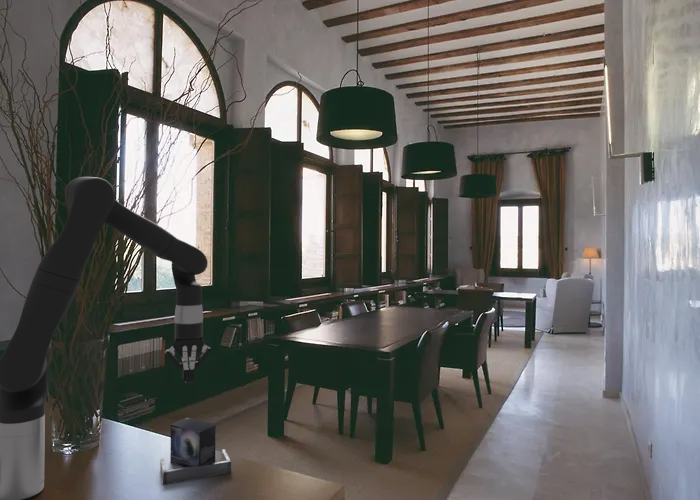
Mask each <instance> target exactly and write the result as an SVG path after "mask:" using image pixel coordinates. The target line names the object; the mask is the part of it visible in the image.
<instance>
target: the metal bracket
mask: <svg viewBox="0 0 700 500" xmlns="http://www.w3.org/2000/svg"><path fill="white" fill-rule="evenodd" d="M220 460H221V461H215V463H209V464H203V465H197V466H191V467H181V468H174V469H169V470H167V467H166V466H167V465H166V462H165V458H160V466H159V467H160V469H159V470H160V476H161V481H162V482H161V483H162V485H163V486H166V485H172V484H178V483H182V482H184V483H185V482H188V481H194V480H200V479H205V478H206V479H207V478H212V477H219V476H223V475H228V474H231V473H232V461H231V458H230V457H229V455H228V453H227V450H226V449H225V448H224V449H221V459H220Z"/></svg>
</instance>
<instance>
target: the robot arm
mask: <svg viewBox="0 0 700 500" xmlns="http://www.w3.org/2000/svg"><path fill="white" fill-rule="evenodd" d="M64 198H65V201H66V203H67V205H68V206H69V207H70V211H69V213H68V217H67V219H66V222H65V224H64V226H63V229H62V230H61V232H60V234H59V235H58V236H57V238H56V239H55V240H54V242H53V243H52V244H51V245H50V247H49V248H48V249H47V251H45V252H46V253H44V255H43V257H42V259H41V260H40V262H39V264H38V266H37V268H36V271H35V274H34V276H33V279H32V281H31V283H30V285H29V286H30V287H29V290H28V292H27V294H26V298H25V300H24V304H23V307H22V310H21V314H20V317H19V321H18V324H17V326H16V328H15V331H14V333H13V334H12V337H11V339H10V341H9V343H8V344H7V346H6V348H5V350H4V352H3V354H2V355H1V357H0V500H25V499H26V500H27V499H29V498H32V497H34V496H36V495H37V494H39V493H40V492H42V491H43V489H44V488H45V450H46V449H45V447H46V446H45V440H46V439H45V437H46V435H45V434H46V432H45V431H46V430H45V429H46V427H45V426H46V401H47V386H48V384H47V380H48V360H47V355H48V351H49V348H50V344H51V341H52V338H53V337H54V334H55V332H56V330H57V328H58V327H59V326H60V323H61V321H62V320H63V318H64V316H65V314H66V313H67V311H68V310H69V307H70V305H71V303H72V302H73V300H74V297H75V295H76V293H77V290H78V288H79V286H80V283H81V281H82V278H83V275H84V272H85V269H86V267H87V264H88V261H89V259H90V257H91V254H92V251H93V248H94V246H95V243H96V239H97V238H98V236H99V233H100V232H101V230H102V228H103V226H104V224H106V225H107V226H109V227H111V228H113V229H114V230H115V231H117V232H119V233H120V234H122V235H124V236H126V238H128V239H130V240H131V241H133V242H134V243H136V244H137V245H138V246H140V247H142V248H143V249H145V250H147V252H149V253H151V254H152V255H154V256H155V257H157V258H159V259H161V260H165V261H169V262H170V263H171V273H172V278H173V281H174V286H175V290H176V292H175V294H176V295H175V311H174V318H173V319H174V340H173V342H172V345H171V346H170V348H168V349H165V351H164V353H165V355H166V357H168V359H169V360H170V361H171V362H172V363H173V364H174V366H175V367H176V368H178V369H181V370H182V380H183V382H185V384H190V383H192V381H194V378H195V369H196V368H199V367H201V366H202V365H203V363H204V362H205V360H206V359H207V358H208V356H210V354H211V352H213V351H212V348H211V347H210V346H208V345H206V344H205V341H204V337H203V335H204V334H203V333H204V330H203V329H204V310H203V288H202V285H201V284H199V283H198V282H197V280H196V276H197V275H201V274H202V273H205V271H206V269H208V263H209V262H208V259H207V256H206V254H205V253H204V252H202V251H201V250H200V249H199V248H197V247H195V246H194V245H192V244H189V243H187V242H185V241H183V240H181V239H179V238H177V237H176V236H175V235H173V234H172V233H171V232H169V231H167V230H166V229H164V228H163V227H161V226H160V225H159V224H157V223H155V222H154V221H152V220H149V218H146V217H143V215H141V214H138V213H136V212H135V211H133V210H131V209H130V208H128V207H126V206H125V205H123V204H122V203H121V202H119V201H118V200H117V199H116V193H115V189H114V187H113V185H112V184H111V183H110V181H108V180H106V179H103V178H102V177H97V176H96V177H95V176H80V177H76V178H73V179H72V180H70V182H68V184H67V185H66V187H65V190H64ZM175 351H176V352H177V354H178V355H179V356H180V357H181V362H180V361H179V360H178V359H177V358H176V357H175V354H176V353H175ZM200 352H202V353H201V354H200V356H199V357H197V356H198V355H199V353H200ZM196 357H197V359H196Z"/></svg>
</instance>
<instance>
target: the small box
mask: <svg viewBox="0 0 700 500" xmlns="http://www.w3.org/2000/svg"><path fill="white" fill-rule="evenodd" d="M216 427H217V424H216V423H213V422H208V421H203V420H200V419H196V418H192V417H185V418H183V419H180V420H178V421H175V422H173V423H171V424H170V455H169V456H170V457H169V458H170V459H169V460H170V461H169V462H170V464H172V465H176V466H179V467H181V468H185V467H191V466H197V465H203V464H209V463H216Z"/></svg>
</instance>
